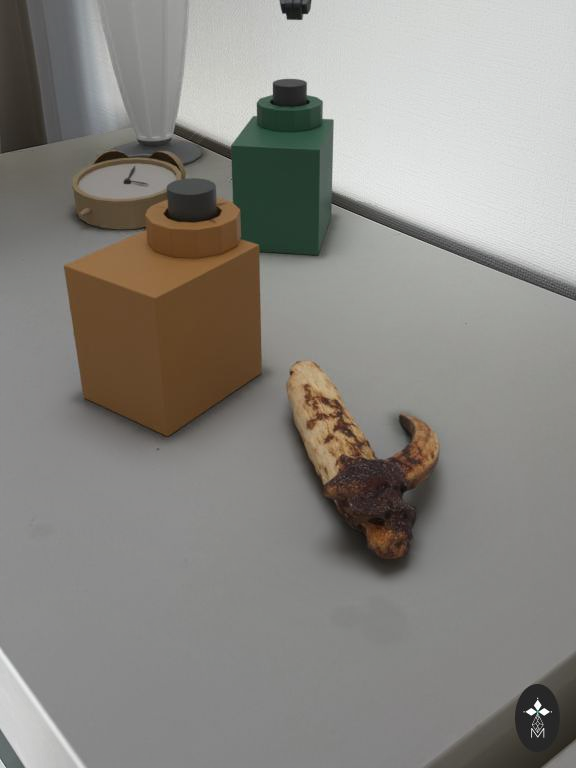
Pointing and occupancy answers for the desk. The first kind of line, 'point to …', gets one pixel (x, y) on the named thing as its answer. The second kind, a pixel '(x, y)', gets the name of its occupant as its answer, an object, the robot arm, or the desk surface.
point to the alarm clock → (124, 187)
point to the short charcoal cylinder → (289, 92)
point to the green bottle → (284, 177)
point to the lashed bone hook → (360, 462)
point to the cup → (149, 69)
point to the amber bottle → (168, 318)
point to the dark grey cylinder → (192, 200)
